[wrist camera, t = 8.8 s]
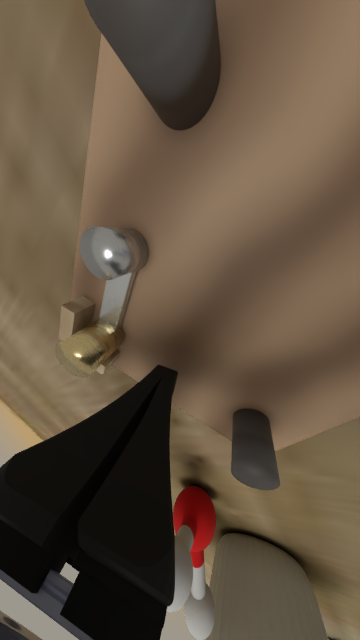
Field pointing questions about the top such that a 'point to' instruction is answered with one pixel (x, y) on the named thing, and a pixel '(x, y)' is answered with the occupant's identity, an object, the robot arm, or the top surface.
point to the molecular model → (193, 559)
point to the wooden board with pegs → (232, 211)
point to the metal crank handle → (119, 272)
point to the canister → (261, 593)
